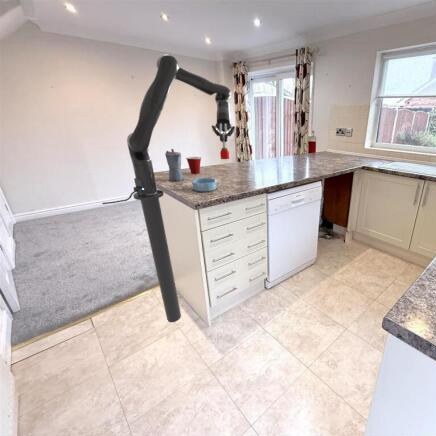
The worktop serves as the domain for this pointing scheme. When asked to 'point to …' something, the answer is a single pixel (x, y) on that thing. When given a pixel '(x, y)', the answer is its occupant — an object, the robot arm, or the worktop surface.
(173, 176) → the moka pot
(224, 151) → the strawberry fork
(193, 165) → the plastic cup
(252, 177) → the worktop surface
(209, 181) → the serving bowl
